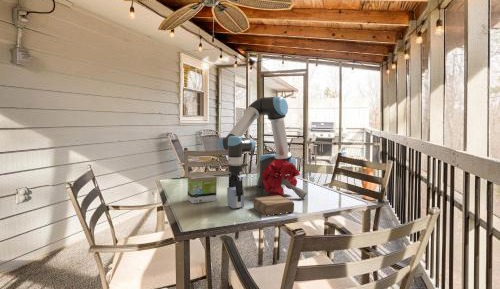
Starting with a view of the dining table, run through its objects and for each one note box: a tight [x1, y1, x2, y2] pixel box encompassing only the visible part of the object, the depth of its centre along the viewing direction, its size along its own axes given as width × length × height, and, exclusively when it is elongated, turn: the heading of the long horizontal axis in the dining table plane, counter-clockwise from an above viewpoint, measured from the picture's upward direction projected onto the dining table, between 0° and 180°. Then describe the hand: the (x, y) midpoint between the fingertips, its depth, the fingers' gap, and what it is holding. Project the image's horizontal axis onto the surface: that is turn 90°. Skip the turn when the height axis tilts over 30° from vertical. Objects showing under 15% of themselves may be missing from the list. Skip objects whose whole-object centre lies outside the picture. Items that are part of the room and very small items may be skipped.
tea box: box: [187, 174, 217, 204], centre depth 187 cm, size 15×10×15 cm, turn 117°
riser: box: [253, 195, 295, 217], centre depth 168 cm, size 16×16×6 cm
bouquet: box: [262, 160, 308, 200], centre depth 196 cm, size 22×24×30 cm
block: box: [226, 186, 245, 209], centre depth 174 cm, size 7×7×10 cm
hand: (235, 205), depth 174 cm, fingers closed on block, 7 cm apart
